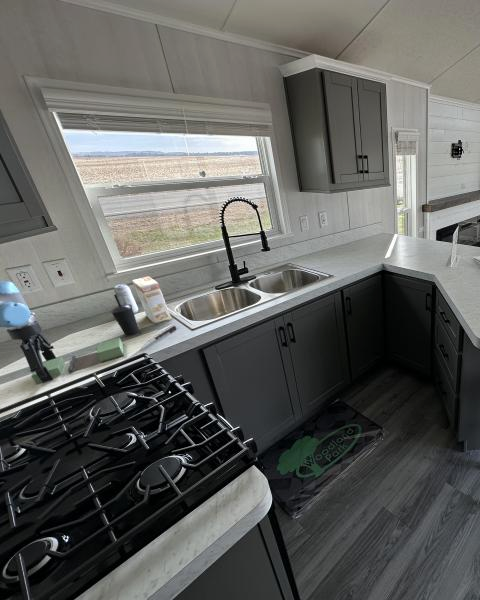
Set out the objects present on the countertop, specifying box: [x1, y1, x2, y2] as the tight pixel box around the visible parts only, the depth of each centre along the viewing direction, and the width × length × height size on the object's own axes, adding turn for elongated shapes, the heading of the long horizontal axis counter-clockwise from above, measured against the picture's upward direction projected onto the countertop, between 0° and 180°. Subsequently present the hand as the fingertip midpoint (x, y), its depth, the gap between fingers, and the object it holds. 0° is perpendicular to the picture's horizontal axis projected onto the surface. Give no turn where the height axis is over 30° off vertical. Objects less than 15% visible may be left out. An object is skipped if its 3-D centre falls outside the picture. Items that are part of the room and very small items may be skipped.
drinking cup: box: [109, 294, 140, 337], centre depth 142 cm, size 8×8×20 cm
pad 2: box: [96, 337, 124, 362], centre depth 131 cm, size 7×9×4 cm
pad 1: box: [30, 356, 65, 385], centre depth 121 cm, size 7×9×4 cm
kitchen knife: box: [141, 325, 177, 349], centre depth 142 cm, size 18×1×2 cm, turn 169°
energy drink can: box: [113, 283, 139, 314], centre depth 164 cm, size 6×6×15 cm
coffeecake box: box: [131, 275, 172, 324], centre depth 157 cm, size 15×7×20 cm, turn 49°
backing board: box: [68, 343, 125, 374], centre depth 129 cm, size 16×12×2 cm
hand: (52, 373), depth 122 cm, fingers open, 13 cm apart
